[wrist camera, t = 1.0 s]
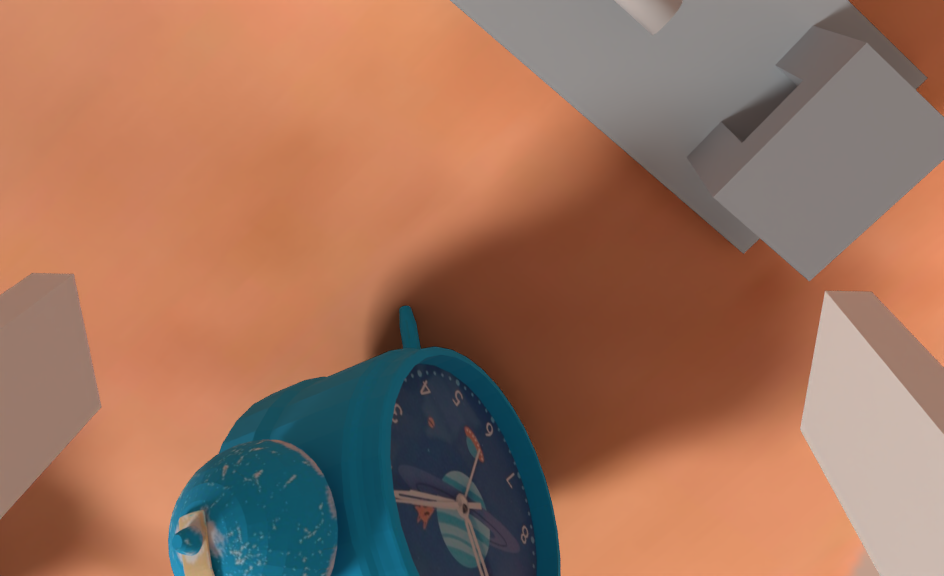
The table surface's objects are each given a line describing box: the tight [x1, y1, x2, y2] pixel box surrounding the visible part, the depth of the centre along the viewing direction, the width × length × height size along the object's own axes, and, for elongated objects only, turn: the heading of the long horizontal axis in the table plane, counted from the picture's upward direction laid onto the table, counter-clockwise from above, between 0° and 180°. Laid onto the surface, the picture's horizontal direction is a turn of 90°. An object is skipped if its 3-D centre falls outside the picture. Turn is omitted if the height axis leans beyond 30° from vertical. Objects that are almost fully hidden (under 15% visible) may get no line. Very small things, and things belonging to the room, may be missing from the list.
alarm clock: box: [168, 306, 560, 576], centre depth 34 cm, size 17×10×20 cm, turn 30°
